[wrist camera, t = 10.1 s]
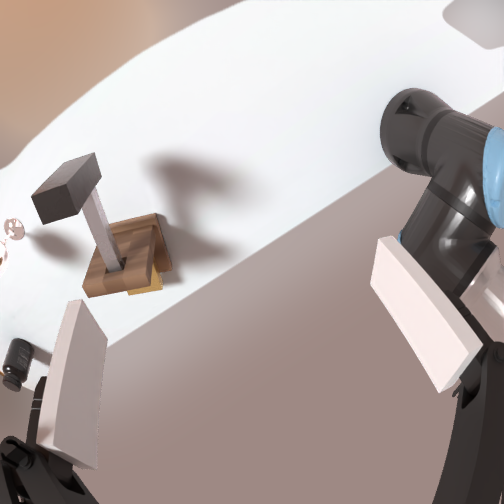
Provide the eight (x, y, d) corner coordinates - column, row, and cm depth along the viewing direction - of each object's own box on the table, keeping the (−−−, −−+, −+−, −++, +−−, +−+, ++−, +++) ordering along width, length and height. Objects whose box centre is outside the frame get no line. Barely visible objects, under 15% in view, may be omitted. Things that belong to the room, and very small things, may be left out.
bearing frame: (96, 227, 42) (74, 281, 32) (155, 212, 43) (147, 266, 33) (117, 275, 48) (106, 333, 38) (171, 264, 49) (171, 322, 39)
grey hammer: (64, 162, 28) (30, 196, 20) (94, 152, 28) (66, 183, 21) (106, 269, 37) (94, 319, 30) (133, 264, 37) (125, 314, 30)
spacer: (115, 265, 43) (128, 295, 47) (151, 258, 44) (162, 289, 48) (117, 258, 45) (130, 287, 49) (152, 250, 45) (162, 281, 49)
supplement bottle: (7, 336, 51) (-7, 376, 42) (28, 338, 53) (15, 380, 43) (18, 353, 55) (7, 392, 46) (38, 356, 57) (28, 396, 47)
